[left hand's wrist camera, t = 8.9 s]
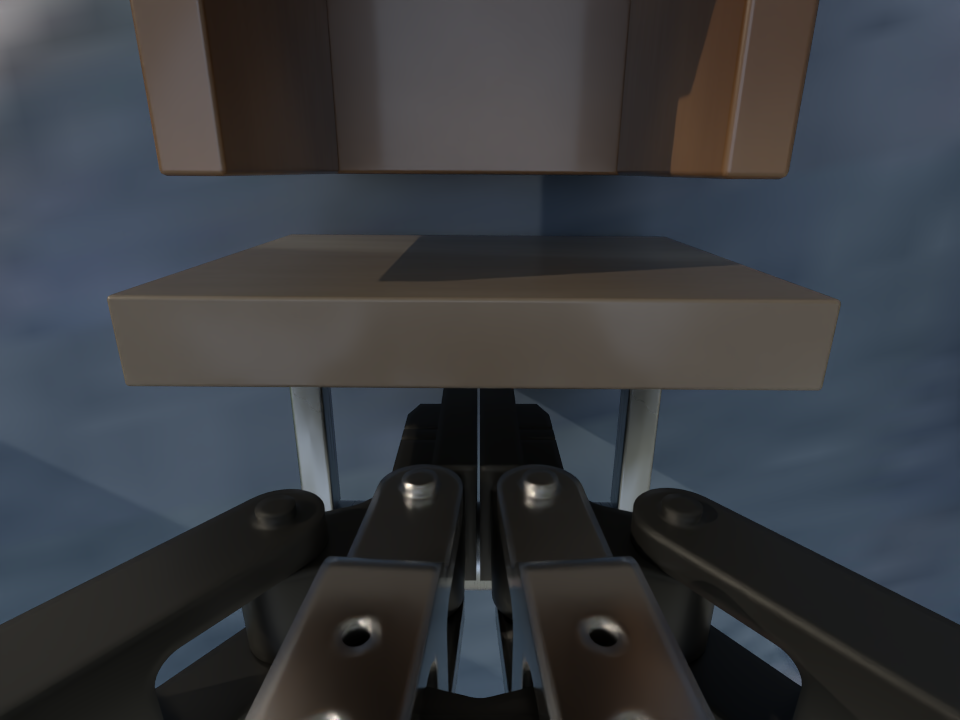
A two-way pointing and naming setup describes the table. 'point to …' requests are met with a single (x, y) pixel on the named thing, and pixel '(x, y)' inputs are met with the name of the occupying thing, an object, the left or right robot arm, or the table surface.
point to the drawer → (475, 150)
